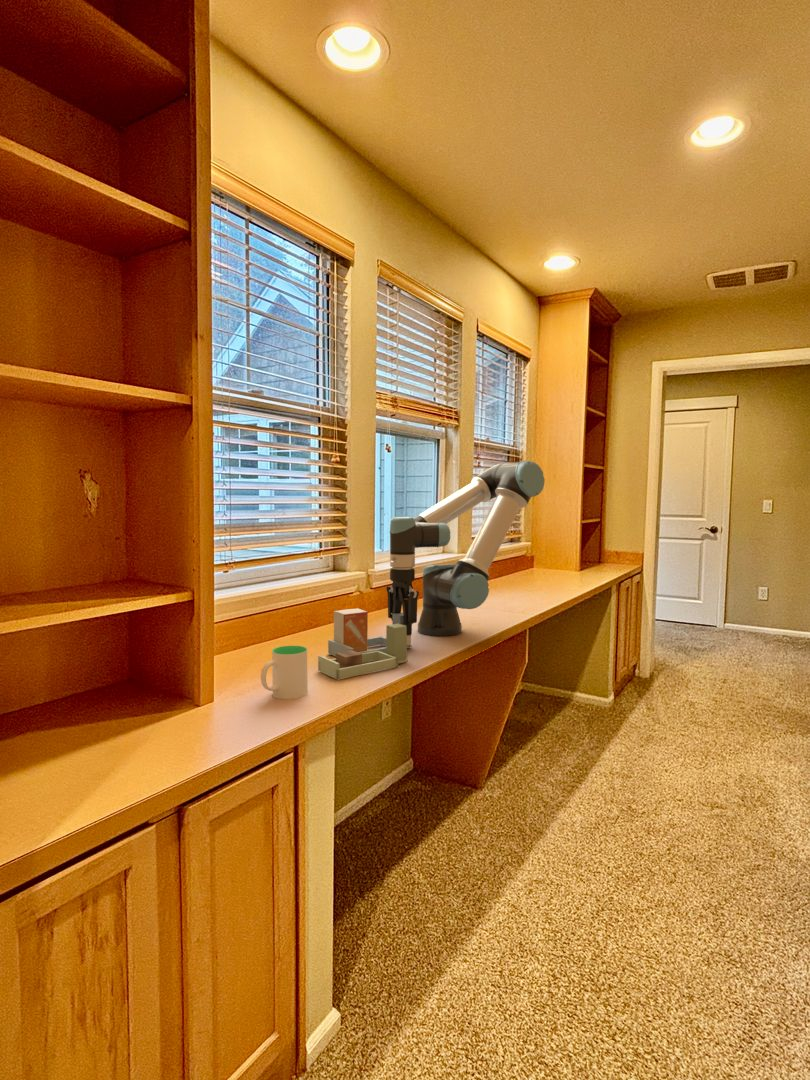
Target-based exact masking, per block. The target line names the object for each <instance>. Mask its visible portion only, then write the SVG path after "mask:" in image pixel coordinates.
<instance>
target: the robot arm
mask: <svg viewBox="0 0 810 1080" xmlns="http://www.w3.org/2000/svg"><path fill="white" fill-rule="evenodd" d="M545 483H546V482H545V476H544V471H543V470H542V467H540V465H539V464H538V463H536V462H534V461H533V460H532V461H531V460H521V461H511V462H510V461H509V462H500V463H498V464H495V465H493V466H491V467H490V468H487V469H486V470H484V471H482V472H481V473H479V474H478V475H476V476H474V477H473V478H472V479H471V480H470V483H469V484H467V485H465V486H464V487H462V488H461V489H458V490H457V491H455V492H454V493H452V494H450V495H448V496H447V497H446V498H444V499H443V500H441V501H439V502H437V503H436V504H434V505H432V506H431V507H429V508H428V509H426V510H424V511H423V512H421V513H419V514H418V515H416V516H414V517H411V516H394V517H392V518H391V520H390V525H389V550H390V551H389V552H390V556H389V558H390V559H389V561H390V563H389V565H390V567H391V568H390V569H389V580H390V581H391V582H392V584H391V585H390V586H386V593H387V617H388V619H391V620H392V614H396V613H403V616H404V623H402V625H405V626H407V640H406V646H408V645H412V634H413V633H412V631H413V629H412V628H413V624H416V623H417V632H418V633H420V634H422V635H423V634H424V635H426V636H436V637H437V636H441V637H442V636H446V637H447V636H455V635H459V634H461V633H462V631H463V630H462V628H463V626H462V625H463V624H462V622H461V619H460V615H459V612H458V609H461V610H473V609H477V608H479V607H480V606H482V605H483V604H484V603H485V602H486V600H487V599H488V596H489V593H490V589H489V582H488V581H489V579H490V573H489V569H490V567H491V565H492V563H493V561H494V559H495V557H496V555H497V554H498V552H499V549H500V547H501V546H502V544H503V542H504V540H505V538H506V536H507V534H508V532H509V530H510V528H511V526H512V524H513V523H514V521H515V519H516V517H517V515H518V513H519V511H520V509H524V508H526V507H527V506H528V504H529V503H530V500H531V498H534V497H537V496H539V495H540V494H541V493H542V491H543V490H544V487H545ZM493 499H495V500H494V502H493V503H492V505H491V507H490V509H489V511H488V513H487V515H486V516H485V518H484V520H483V522H482V523H481V526H480V527H479V530H478V532H477V533H476V536H475V537H474V539H473V541H472V543H471V545H470V546H469V548H468V550H467V552H466V554H465V556H464V558H460V559H458V560H456V562H455V563H448V564H447V563H446V564H445V563H444V564H431V565H430V564H429V565H425V566H424V567H423V571H422V577H421V578H422V610H421V613H420V617H419V620H418V599H419V594H420V592H419V590H415V589H413V587H414V586H413V582H414V581H415V580H416V579H415V577H416V575H415V573H416V572H415V571H416V570H415V567H416V552H415V551H416V548H417V549H418V548H441V547H447V545H448V544H449V543H450V540H451V529H450V527H449V525H448V524H449V523H450V522H452V521H453V520H455V519H456V518H457V519H458V517H460V516H461V515H463V514H464V513H466V512H468V511H470V509H473V508H474V507H476V506H477V505H479V504H480V503H482V502H483V503H488V502H490V501H491V500H493Z"/></svg>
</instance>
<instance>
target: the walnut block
mask: <svg viewBox="0 0 810 1080" xmlns="http://www.w3.org/2000/svg"><path fill="white" fill-rule="evenodd" d="M335 658H336V662H337V663H340V668H345V667H350V666H355V665H360V664H363V663H362V654H360V653H358V652H355V651H353V650H350V651H345V652H339V653H336V656H335Z"/></svg>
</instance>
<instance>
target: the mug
mask: <svg viewBox="0 0 810 1080" xmlns="http://www.w3.org/2000/svg"><path fill="white" fill-rule="evenodd" d="M271 650H272V651H271V655H272V656H271V658H272V659H271V660H268V661H267V662H265V663H264V665H263V666H262V668H261V671H260V682H261V685H262V687H263V688H264V689H265V690H267V691H271V692H272V696H273V697H274V698H277V699H280V700H294V699H295V700H296V699H299V698H303V697H305V696H306V695H307V694H308V692H309V691H308V688H309V687H308V678H309V677H308V648H307V647H306V646H302V645H284V646H283V645H282V646H278V647H274V648H272V649H271ZM270 667H272V668H271V669H272V673H271V674H272V675H271V676H272V685H271V686H269V685H268V683H267V674H268V670H269V668H270Z"/></svg>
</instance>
